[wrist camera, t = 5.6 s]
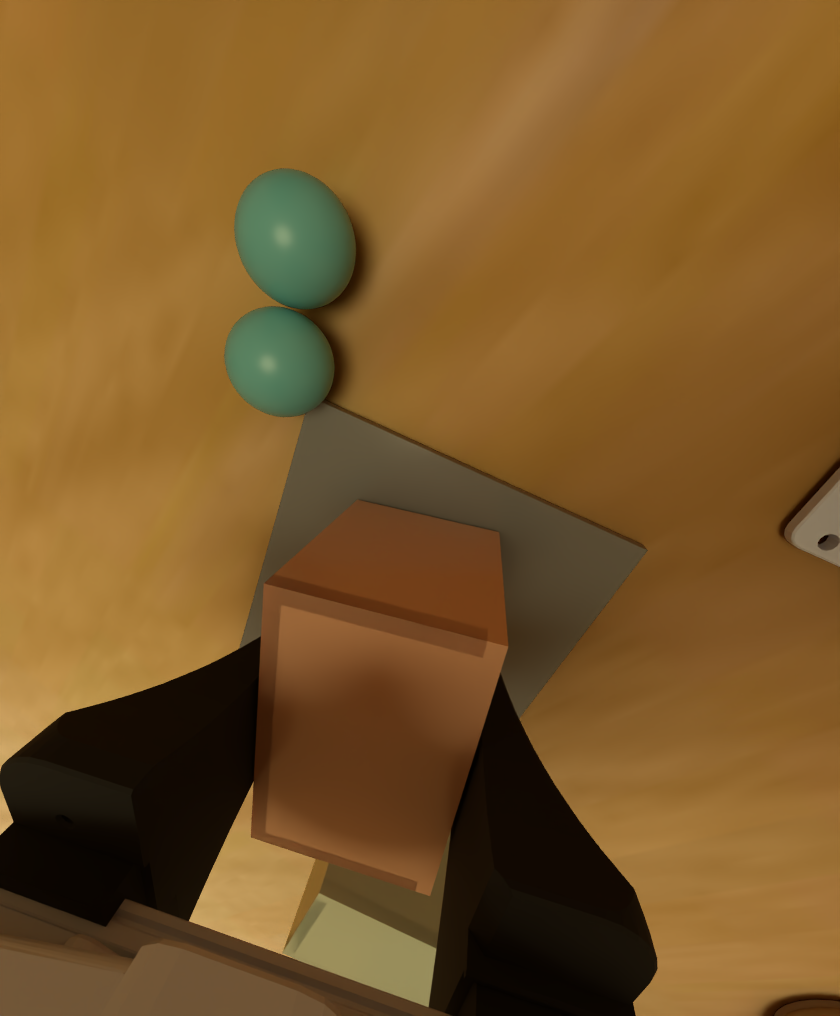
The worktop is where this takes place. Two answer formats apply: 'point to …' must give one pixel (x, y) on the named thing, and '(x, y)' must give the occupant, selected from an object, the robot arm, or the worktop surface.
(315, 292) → the marble
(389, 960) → the pale green square box
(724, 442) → the worktop surface
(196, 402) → the worktop surface
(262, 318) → the marble
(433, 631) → the tall copper box
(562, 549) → the slate coaster
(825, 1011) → the beer can
